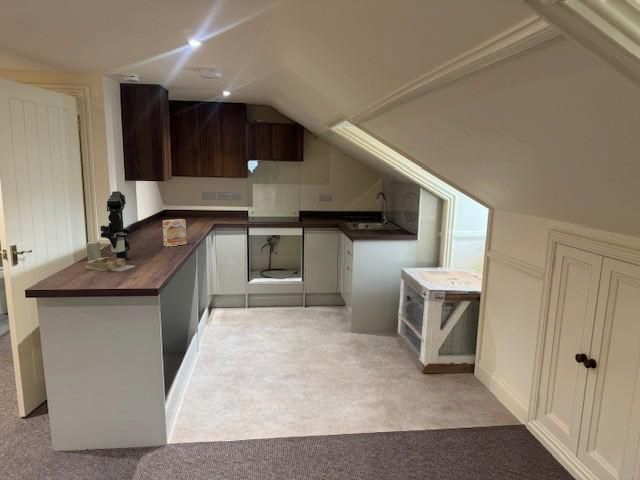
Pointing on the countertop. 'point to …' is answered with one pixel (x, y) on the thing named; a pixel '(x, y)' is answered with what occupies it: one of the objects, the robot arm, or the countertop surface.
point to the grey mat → (123, 268)
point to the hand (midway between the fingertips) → (118, 247)
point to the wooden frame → (104, 264)
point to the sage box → (119, 245)
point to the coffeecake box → (174, 232)
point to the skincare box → (93, 251)
